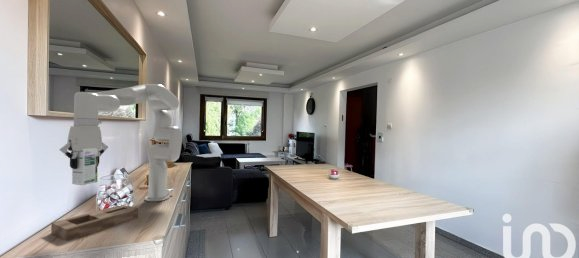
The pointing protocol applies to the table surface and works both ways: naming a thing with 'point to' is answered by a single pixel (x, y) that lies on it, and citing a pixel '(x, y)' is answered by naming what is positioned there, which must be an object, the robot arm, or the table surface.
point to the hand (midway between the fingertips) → (85, 166)
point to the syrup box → (86, 167)
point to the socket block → (92, 221)
